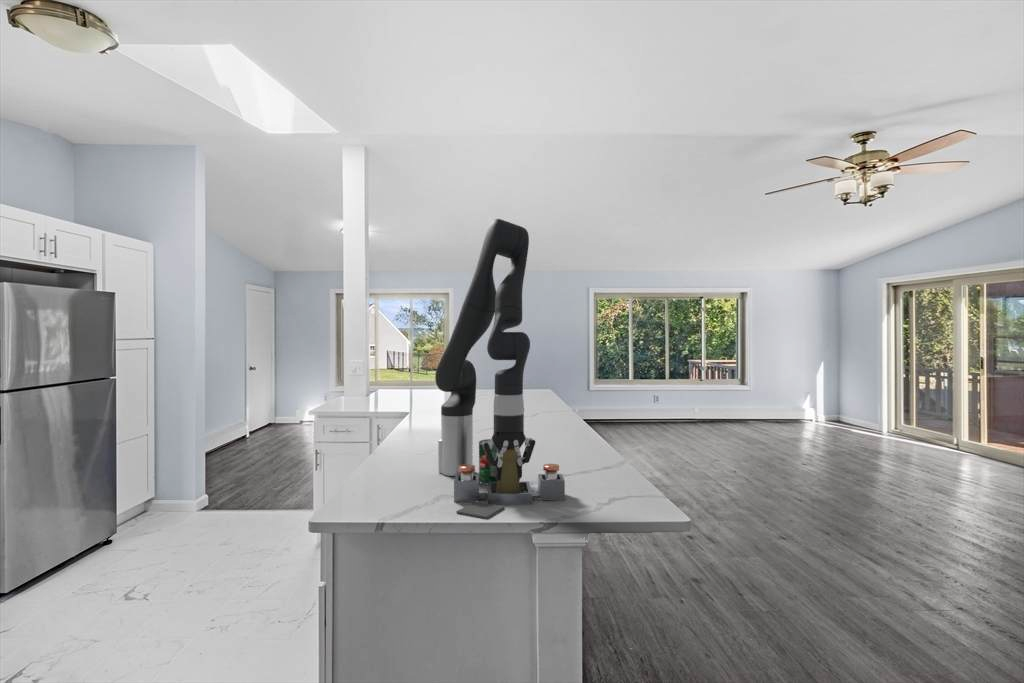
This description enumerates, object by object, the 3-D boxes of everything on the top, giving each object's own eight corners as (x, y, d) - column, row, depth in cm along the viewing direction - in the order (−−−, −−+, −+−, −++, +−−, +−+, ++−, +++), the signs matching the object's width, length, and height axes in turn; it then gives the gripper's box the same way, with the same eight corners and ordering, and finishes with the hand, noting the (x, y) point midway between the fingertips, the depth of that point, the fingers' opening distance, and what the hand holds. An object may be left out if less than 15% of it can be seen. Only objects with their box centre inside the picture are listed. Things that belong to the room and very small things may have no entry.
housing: (453, 504, 128) (453, 484, 128) (456, 491, 139) (456, 472, 139) (565, 503, 129) (565, 482, 129) (560, 490, 140) (560, 471, 139)
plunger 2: (540, 494, 133) (540, 466, 133) (547, 490, 137) (547, 463, 137) (555, 496, 131) (555, 468, 131) (561, 492, 135) (561, 464, 135)
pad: (456, 513, 122) (456, 511, 122) (475, 503, 129) (475, 501, 129) (486, 519, 118) (486, 516, 118) (504, 508, 125) (504, 506, 125)
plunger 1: (455, 495, 133) (455, 467, 132) (464, 491, 136) (464, 463, 136) (469, 497, 131) (469, 469, 131) (478, 493, 134) (478, 465, 134)
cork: (524, 493, 132) (524, 448, 132) (502, 496, 130) (502, 451, 130) (513, 486, 138) (513, 444, 138) (492, 489, 135) (492, 446, 135)
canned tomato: (513, 481, 149) (513, 441, 149) (493, 487, 143) (493, 445, 143) (493, 475, 154) (493, 437, 154) (472, 481, 148) (472, 441, 148)
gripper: (530, 408, 139) (530, 474, 139) (477, 411, 135) (477, 479, 135) (540, 413, 132) (540, 482, 132) (484, 415, 128) (484, 487, 128)
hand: (508, 480), depth 134 cm, fingers closed on cork, 3 cm apart
